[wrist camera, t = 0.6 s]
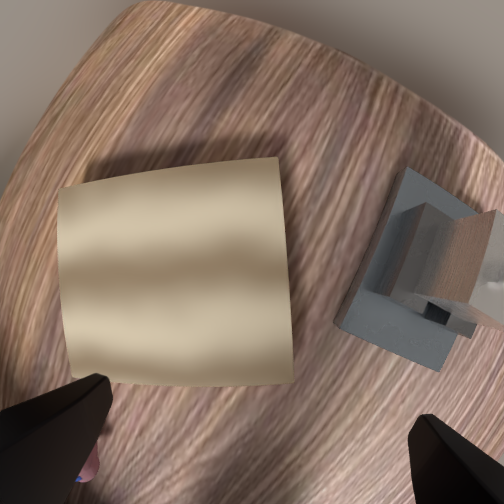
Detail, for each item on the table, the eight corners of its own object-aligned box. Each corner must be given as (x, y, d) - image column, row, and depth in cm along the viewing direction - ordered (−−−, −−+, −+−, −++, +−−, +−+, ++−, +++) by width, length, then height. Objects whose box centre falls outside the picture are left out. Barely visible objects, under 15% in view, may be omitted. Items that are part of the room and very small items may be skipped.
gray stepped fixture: (451, 375, 20) (507, 409, 12) (333, 322, 21) (366, 353, 13) (501, 244, 20) (565, 237, 12) (396, 173, 21) (449, 134, 13)
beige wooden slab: (291, 367, 21) (294, 383, 18) (91, 366, 22) (72, 377, 19) (277, 170, 22) (278, 156, 19) (79, 196, 22) (58, 188, 19)
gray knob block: (463, 320, 15) (547, 343, 8) (413, 292, 16) (497, 308, 8) (486, 256, 16) (571, 250, 8) (439, 224, 16) (524, 201, 8)
